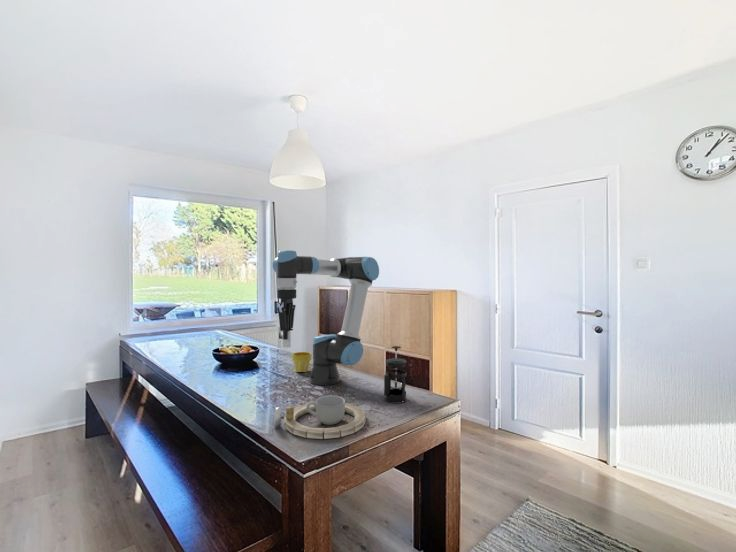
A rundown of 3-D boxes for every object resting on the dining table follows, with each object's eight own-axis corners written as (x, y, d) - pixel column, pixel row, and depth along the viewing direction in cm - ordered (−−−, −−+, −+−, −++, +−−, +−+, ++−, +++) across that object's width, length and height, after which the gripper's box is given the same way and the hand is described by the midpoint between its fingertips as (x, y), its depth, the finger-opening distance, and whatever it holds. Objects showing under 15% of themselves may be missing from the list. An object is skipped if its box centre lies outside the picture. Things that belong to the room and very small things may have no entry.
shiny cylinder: (276, 425, 133) (276, 406, 133) (284, 426, 133) (284, 407, 133) (273, 428, 131) (273, 408, 131) (281, 429, 130) (281, 409, 130)
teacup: (347, 416, 142) (347, 395, 142) (342, 428, 132) (342, 405, 132) (311, 415, 144) (311, 394, 144) (303, 426, 133) (303, 404, 133)
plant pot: (305, 367, 214) (305, 350, 214) (314, 371, 206) (314, 353, 206) (288, 370, 207) (288, 353, 207) (298, 374, 199) (298, 356, 199)
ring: (283, 410, 148) (283, 395, 147) (354, 404, 155) (355, 389, 155) (287, 443, 120) (287, 424, 119) (374, 433, 127) (374, 415, 127)
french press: (396, 394, 169) (396, 343, 169) (412, 399, 162) (412, 346, 162) (377, 400, 161) (378, 346, 161) (393, 406, 154) (394, 350, 154)
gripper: (289, 289, 144) (288, 350, 145) (301, 288, 157) (301, 344, 157) (271, 289, 146) (270, 349, 146) (284, 287, 159) (284, 343, 159)
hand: (286, 347), depth 152 cm, fingers closed
